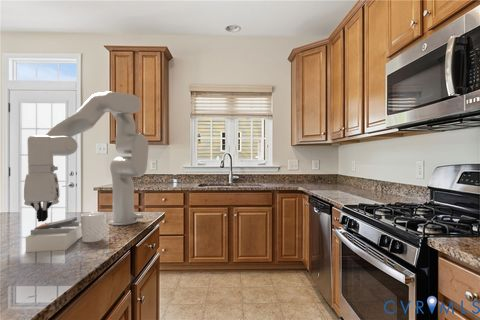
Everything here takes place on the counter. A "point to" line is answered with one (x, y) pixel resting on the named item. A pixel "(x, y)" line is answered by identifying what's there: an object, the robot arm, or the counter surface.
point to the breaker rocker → (57, 223)
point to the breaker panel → (53, 238)
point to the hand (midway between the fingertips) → (42, 220)
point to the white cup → (92, 226)
